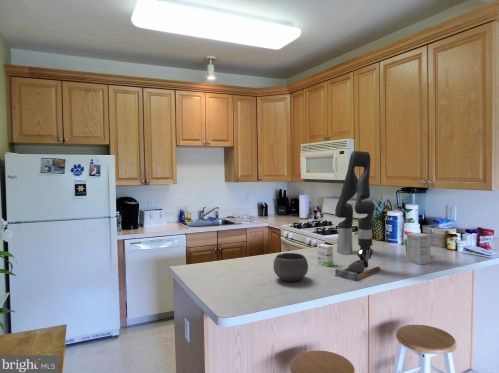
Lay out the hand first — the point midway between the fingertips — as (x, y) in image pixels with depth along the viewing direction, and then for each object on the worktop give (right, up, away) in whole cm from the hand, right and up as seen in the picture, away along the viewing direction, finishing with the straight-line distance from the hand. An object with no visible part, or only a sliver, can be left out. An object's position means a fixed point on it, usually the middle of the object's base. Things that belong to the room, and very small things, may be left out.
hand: (365, 267), depth 190 cm
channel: (-5, -2, -5) cm, 7 cm away
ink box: (-20, -2, +13) cm, 24 cm away
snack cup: (+39, +1, +26) cm, 47 cm away
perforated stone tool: (-8, -2, -7) cm, 11 cm away
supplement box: (+36, 0, +13) cm, 39 cm away
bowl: (-43, -4, -12) cm, 45 cm away
